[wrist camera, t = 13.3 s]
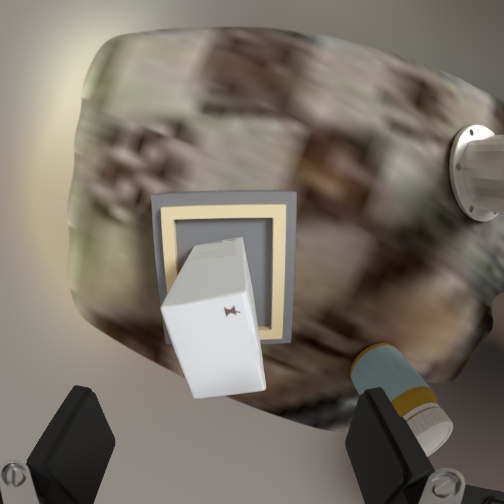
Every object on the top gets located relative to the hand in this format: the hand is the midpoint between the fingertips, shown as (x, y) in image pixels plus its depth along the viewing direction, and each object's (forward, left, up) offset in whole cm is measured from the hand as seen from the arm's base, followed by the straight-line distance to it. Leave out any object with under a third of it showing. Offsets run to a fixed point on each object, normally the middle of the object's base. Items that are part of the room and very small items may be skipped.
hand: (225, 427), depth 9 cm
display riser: (0, 0, -21) cm, 21 cm away
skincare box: (+1, 0, -17) cm, 17 cm away
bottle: (-18, +14, -21) cm, 31 cm away
